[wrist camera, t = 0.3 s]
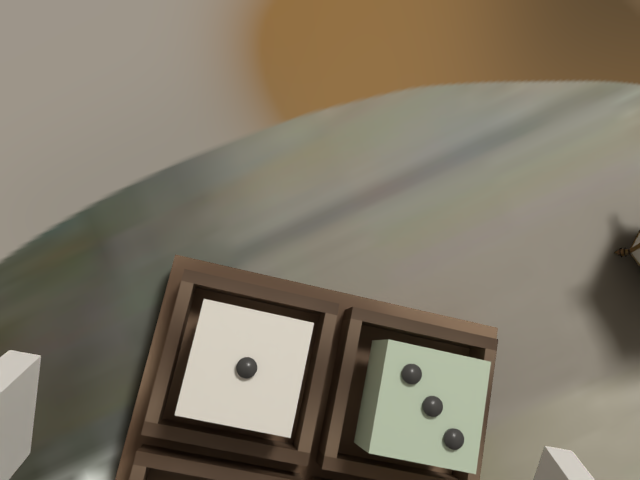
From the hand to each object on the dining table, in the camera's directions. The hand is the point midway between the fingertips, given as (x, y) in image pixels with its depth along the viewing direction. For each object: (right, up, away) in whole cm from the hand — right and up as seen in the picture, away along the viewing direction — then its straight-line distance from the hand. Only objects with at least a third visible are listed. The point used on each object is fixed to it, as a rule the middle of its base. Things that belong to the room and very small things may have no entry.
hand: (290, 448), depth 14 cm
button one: (-3, -1, +13) cm, 13 cm away
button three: (+5, -3, +14) cm, 15 cm away
